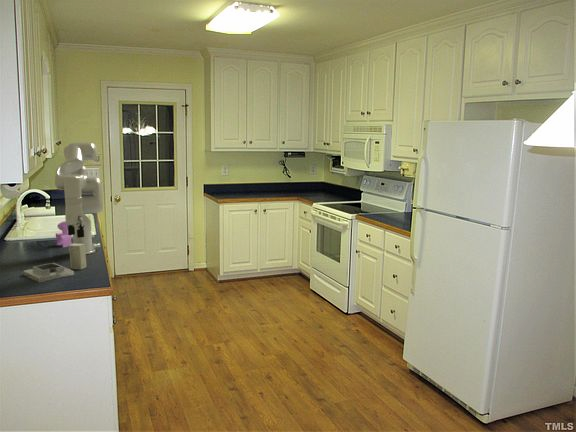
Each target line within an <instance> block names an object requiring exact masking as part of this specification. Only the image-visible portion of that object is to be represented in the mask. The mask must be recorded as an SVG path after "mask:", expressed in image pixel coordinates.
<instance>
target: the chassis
mask: <svg viewBox="0 0 576 432" xmlns="http://www.w3.org/2000/svg"><path fill="white" fill-rule="evenodd" d="M22 273H23V276H26V277H27V278H29V279H31V280H33V281H35V282H37V283H42V282H47V281H48V282H49V281H53V280H56V279H61V278H66V277H71V276H74V275H75V271H74V269H70V268H67V267H65V266H63V265H60V264H58V263H55V262H51V263H45V264H40V265H34V266H32V267H31V269H30V268H29V269H26V270H22Z"/></svg>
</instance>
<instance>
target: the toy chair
mask: <svg viewBox="0 0 576 432" xmlns="http://www.w3.org/2000/svg"><path fill="white" fill-rule="evenodd" d="M57 228H58V230H59V231H61V232H55V237H56V238H55V239H56V246H62V248H69V245H71V244H73V241H72V237H73V235H68V227H67V223H66V220H64V221H61V222H59V223H58V224H57Z"/></svg>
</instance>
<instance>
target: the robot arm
mask: <svg viewBox="0 0 576 432" xmlns="http://www.w3.org/2000/svg"><path fill="white" fill-rule="evenodd" d="M63 155H64V159H65V161H64V162H62V163H61V164H60V165H59V166H58V167H57V168H56V170H55V172H54V173H55V175H54V186H55V188H56V189H57V190H59V191H64V202H65V204H64V205H65V211H64V212H65V214H64V216H65V217H64V218H65V221H66V223H67V227H68V235H72V239H73V241H72V243H73V244H74V243H76V244H84V245H85V254H86V255H90V254H94V253H96V248H100V247H101V243H93V240H92V239H93V238H92V225H91V220H90V218H89V217H88V215H86V214H98V213H101V212H102V211H103V209H104V200H103V198H104V197H103V196H104V195H103V185H102V180H101V178H99V177H97V176H88V169H87V167H86V166H85V165H84V164H85V163H84V162H85V161H96V160H97V159H98V158H99V157H98V156H99V151H98V148H97V145H96V144H95V143H93V142H89V141H87V142H83V141H82V142H71V143H69V144H68V145H67V146H65V147H64V149H63ZM82 195H83V196H82Z"/></svg>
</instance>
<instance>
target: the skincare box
mask: <svg viewBox="0 0 576 432" xmlns="http://www.w3.org/2000/svg"><path fill="white" fill-rule="evenodd" d="M68 251H69V259H70V261H69V262H70V268H71V269H70V270H83V269H86V268H87V254H85V245H84V244H76V243H74V242H73V243H72V244H71V245H69V246H68Z"/></svg>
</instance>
